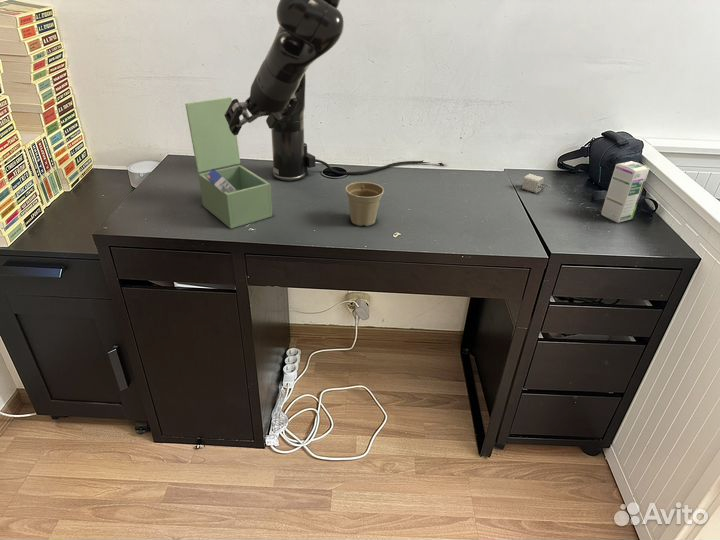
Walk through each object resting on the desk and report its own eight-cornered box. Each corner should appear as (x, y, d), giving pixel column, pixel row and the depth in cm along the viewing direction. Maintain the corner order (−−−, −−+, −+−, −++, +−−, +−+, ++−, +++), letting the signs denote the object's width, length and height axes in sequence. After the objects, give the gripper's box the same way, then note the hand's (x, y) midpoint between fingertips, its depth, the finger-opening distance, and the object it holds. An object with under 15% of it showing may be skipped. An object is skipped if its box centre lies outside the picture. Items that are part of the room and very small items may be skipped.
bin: (272, 216, 127) (270, 183, 122) (230, 228, 121) (226, 194, 116) (243, 195, 137) (240, 164, 132) (202, 205, 131) (198, 173, 126)
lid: (231, 97, 124) (221, 95, 128) (186, 103, 118) (177, 101, 122) (240, 163, 132) (230, 159, 136) (198, 172, 125) (189, 167, 129)
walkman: (236, 206, 129) (204, 175, 121) (244, 198, 130) (212, 167, 121) (248, 217, 124) (215, 186, 115) (256, 209, 124) (224, 178, 116)
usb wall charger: (527, 185, 150) (530, 173, 148) (549, 192, 147) (553, 179, 145) (521, 189, 148) (524, 176, 146) (543, 196, 144) (547, 183, 142)
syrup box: (617, 223, 131) (636, 170, 123) (599, 214, 135) (616, 162, 127) (632, 219, 133) (651, 167, 125) (613, 210, 138) (631, 159, 130)
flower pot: (386, 216, 129) (388, 185, 125) (375, 232, 122) (377, 199, 117) (352, 210, 132) (353, 179, 127) (339, 225, 124) (339, 193, 119)
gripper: (250, 105, 90) (228, 149, 103) (316, 94, 97) (287, 137, 111) (233, 68, 90) (213, 117, 104) (300, 61, 98) (273, 107, 111)
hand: (251, 128), depth 107 cm, fingers open, 8 cm apart
